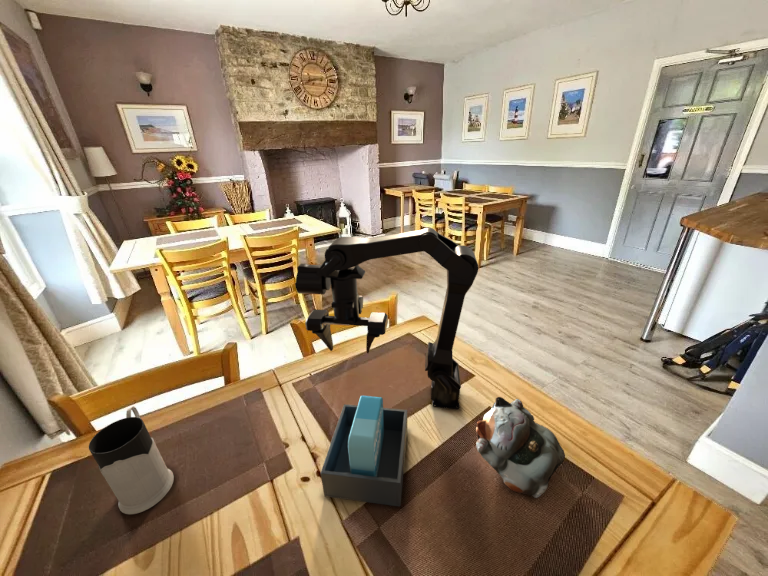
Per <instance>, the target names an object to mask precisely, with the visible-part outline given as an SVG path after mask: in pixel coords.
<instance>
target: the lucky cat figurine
mask: <svg viewBox="0 0 768 576" xmlns="http://www.w3.org/2000/svg"><path fill="white" fill-rule="evenodd" d="M475 426H476V428H475V430H476V450H477V452H478V454H479V455H480V456H481V458H483V460H485V462H487V463H488V465H489V466H490V467H491V468H493V470H495V472H496V473H497V474H498V475H499V476H500V477H501V479H502V480H503V483H504V484H505V486H506V487H507V488H509V490H511V491H512V492H515V493H520V494H523V495H526V496H532V497H533V498H534V499H538V498H540V497H541V496H542V495H543V494H544V493H545V492H546V491H547V489H548V486H549V482H550V481H551V478H552V476H553V475H554V473H555V472H556V471H557V469H558V468H559V467H560V466H561V465H562V464H563V463H564V461H565V459H566V454H565V450H564V449H563V448H562V445H561V443H560V442H559V440H558V438H557V436H556V434H555V433H554V432H553V431H552V430H550V429H549V428H548V427H546V426H544V425H542V424H540V423H538V422H536V421H535V417H534V415H533V414H532V413H531V412H530V411H529V410H528V409H527V408H525V407H524V403H523V402H522V401H521V400H520V398H515V400H512V401H511V402H509V401H507V400H506V399H505V398H503V396H497V397H495V402H494V403H493V405H492V407H491V409H490V410H488V411H487V412H486V413H485V414H484V415H483V419H479V420H478V421H477V422H476V425H475Z"/></svg>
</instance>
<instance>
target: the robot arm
mask: <svg viewBox="0 0 768 576" xmlns="http://www.w3.org/2000/svg"><path fill="white" fill-rule="evenodd" d="M421 252H422V253H423V252H425V254H427V255H429V256H430V257H431V258H432V259H433V260H434V261H436V262H437V263H438V265H440V266H441V267H442V268H443V269H445V270H446V290H445V296H444V301H443V305H442V310H441V315H440V319H439V320H440V321H439V325H438V330H437V335H436V339H435V340H434V342H430V341H428V342H427V351H426V352H425V355H424V356H425V357H424V360H425V361H424V362H425V363H424V371H425V372H427V378H428V379H430V380H431V382H430V400H431V401H432V408H434V409H435V408H436V409H446V410H447V409H448V410H460V409H461V408H460V407H461V406H460V396H461V395H460V393H461V388H462V384H461V383H462V382H461V375H460V374H461V373H460V367H459V363H458V362H457V361H456V360H455V359H454V358H453V349H454V344H455V340H456V336H457V332H458V326H459V323H460V319H461V315H462V311H463V306H464V302H465V298H466V294H467V293H468V292H469V290H470V289H471V288H472V287H473V284H474V281H475V280H476V277H477V275H478V273H479V263H478V260H477V258H476V255H475V253H474V251H473V249H472V248H470V247H469V246H468V245H459V244H458V243H456V242H455V241H453V239H450V238H449V237H446V236H444V235H442V234H441V233H439V232H438V231H436V229H435V228H432V227H424V228H422V229H418V230H412V231H406V232H400V233H394V234H389V235H381V236H376V237H369V238H368V237H360V236H340V237H337V238H336V239H335V240H334V241H332V243H331V244H329V245H328V247H327V248H326V250H325V251H324V261H323V262H322V263H321V264H308V263H300V264H299V265H298V266H297V268H296V269H297V272H296V277H295V283H294V287H295V290H296V292H297V294H300V295H302V294H303V295H325V294H326V292H327V291H330V289H331V298H332V299H331V300H332V301H331V308H332V309H333V315H330V313H329V310H328V309H315V308H314V309H313V310H312V311H311V312H310V313H309V314H308V316H307V318H306V319H305V323H304V325H305V329H306V331H307V332H309V331H310V332H311V334H314V335H316V337H318V338H319V339H320V340H321V341H322V343H324V345H325V346H326V347H327V349H328V350H329V351H330V352H332V351H333V350H334V341H333V336H332V330H331V325H334V326H357V327H358V326H359V327H367V328H366V329H367V333H366V343H365V345H366V347H365V350H366V354H369V353H370V350H371V347H372V343H373V342H374V340H375V338H380V336H384V335H385V334H386V332H387V328H388V323H389V316H388V314H387V313H386V312H379V311H378V312H376V311H371V312H370V315H369V317H364V316H363V317H362V316H360V315H361V314H362V312H363V309H364V296H363V295H359V292H358V281H357V280H362V279H363V278H364V276H365V274H366V270H365V269H364V268H362V267H361V266H360V265H361V264H363V263H365V262H367V261H371V260H377V259H382V258H390V257H397V256H404V255H409V254H417V253H421Z"/></svg>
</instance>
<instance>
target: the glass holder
mask: <svg viewBox="0 0 768 576" xmlns="http://www.w3.org/2000/svg"><path fill="white" fill-rule="evenodd" d="M132 413H133V415H134V416H132ZM125 415H126V416H125V418H120V419H118V420H115V421H114V422H111V423H110V424H108V425H106V426H105V427H103V428H102V429H101V430H99V431H98V432H97V433H96V434H95V435H94V436H93V437H92V438H91V440H90V441H89V443H88V451H89V452H90V454H91V455H92V457H93V459H94V460H95V462H96V464H97V466H98V470H99V472H100V473H101V475H102V477H103V478H104V479H105V481H106V483H107V485H108V486H109V487H110V489H111V491H112V492H113V494H114V496H115V497H116V499H117V501H118V508H119V511H120V512H121V513H123V514H124V515H136V514H139V513H142V512H146V511H147V510H149V509H151V508H152V507H154V506H155V505H156V504H158V503H159V502H160V501H162V499H164V497H165V496H166V495H167V494H168V493H169V491H170V490H171V488H172V486H173V484H174V481H175V476H174V473H173V471H172V470H171V469H170V468H168V467H167V465H166V463H165V461H164V458H163V456H162V454H161V452H160V450H159V448H158V446H157V444H156V441H155V440H154V437H152V436H151V434H150V433H149V430H148V428H147V426H146V424H145V422H144V420H143V419H142V418H141V416H140V413H139V411H138V409H137V407H136V406H133V405H132V406H129V407H128V408H127V410H126V414H125Z"/></svg>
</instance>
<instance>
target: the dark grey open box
mask: <svg viewBox="0 0 768 576" xmlns="http://www.w3.org/2000/svg"><path fill="white" fill-rule="evenodd" d="M357 407H358V404H357V405H356V404H343V406H342V409H341V412H340V415H339V417H338V420H337V422H336V423H337V424H336V426H335V430H334V431H333V435H332V438H331V441H330V444H329V447H328V450H327V453H326V456H325V459H324V461H323V465H322V467H321V470H320V478H321V484H322V490H323V497H326V498H332V499H340V500H341V499H342V500H348V501H355V502H363V503H368V504H369V503H370V504H378V505H386V506H392V507H399V508H400V507H402V494H403V483H404V473H405V460H406V449H407V438H408V409H399V408H389V407H383V419H384V438H383V445H382V451H381V457H380V463H379V469H378V475H377V477H373V476H365V475H357V474H351V471H350V461H349V452H348V439H349V435H350V431H351V428H352V424H353V421H354V417H355V414H356V410H357Z"/></svg>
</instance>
